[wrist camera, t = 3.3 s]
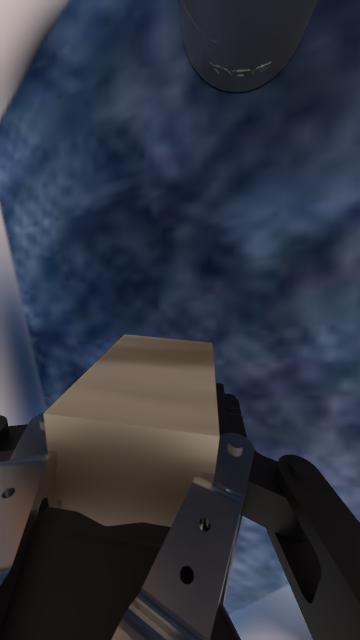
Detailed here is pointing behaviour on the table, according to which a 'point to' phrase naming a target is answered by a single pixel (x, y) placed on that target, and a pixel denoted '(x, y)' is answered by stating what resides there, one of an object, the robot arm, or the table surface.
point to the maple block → (136, 431)
